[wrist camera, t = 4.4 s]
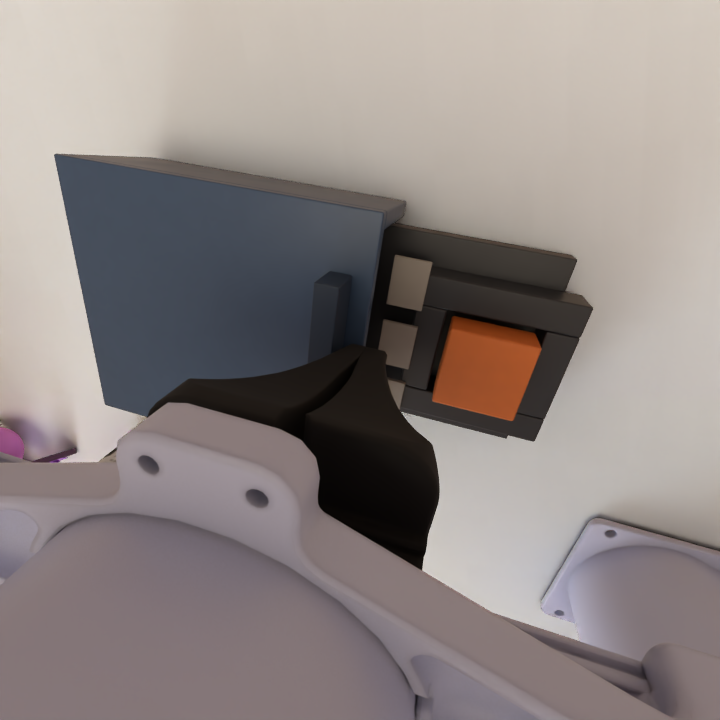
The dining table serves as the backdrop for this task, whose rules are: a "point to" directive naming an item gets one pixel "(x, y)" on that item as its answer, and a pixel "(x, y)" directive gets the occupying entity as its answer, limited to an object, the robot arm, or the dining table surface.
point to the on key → (485, 367)
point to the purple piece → (14, 446)
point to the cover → (215, 271)
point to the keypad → (405, 293)
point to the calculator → (481, 317)
